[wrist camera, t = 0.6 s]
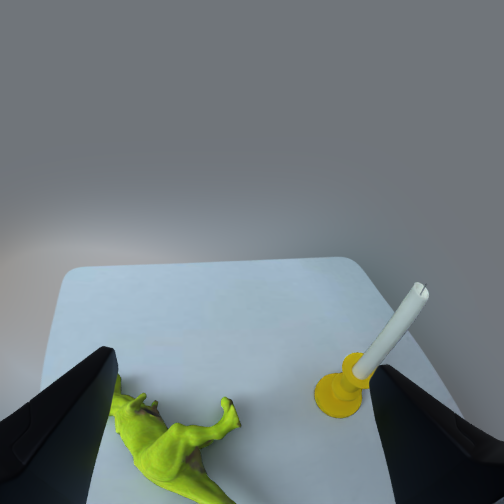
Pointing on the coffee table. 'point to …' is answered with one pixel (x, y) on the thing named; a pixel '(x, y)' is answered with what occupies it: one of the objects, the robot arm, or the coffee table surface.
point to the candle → (367, 360)
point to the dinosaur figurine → (171, 446)
